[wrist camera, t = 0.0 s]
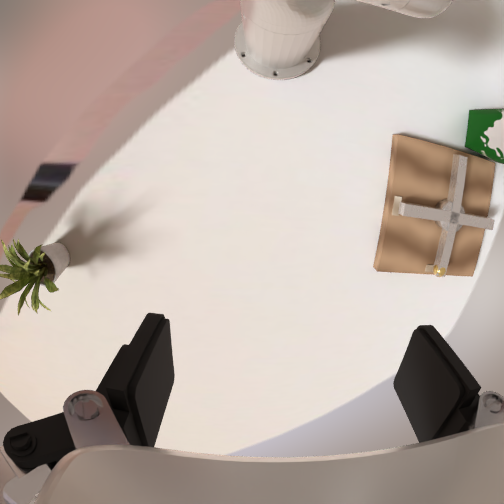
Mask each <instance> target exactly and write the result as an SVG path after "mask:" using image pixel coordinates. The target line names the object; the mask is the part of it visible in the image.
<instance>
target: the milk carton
mask: <svg viewBox="0 0 504 504" xmlns="http://www.w3.org/2000/svg"><path fill="white" fill-rule="evenodd" d="M465 147H467V148H469V149H471V150H473V151H476V152H478V153H480V154H482V155H484V156H486V157H488V158H490V159H492V160H494V161H496V162H498V163H502V164H504V109H481V110H469V119H468V128H467V136H466V143H465Z"/></svg>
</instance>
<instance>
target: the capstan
mask: <svg viewBox="0 0 504 504" xmlns="http://www.w3.org/2000/svg"><path fill="white" fill-rule="evenodd" d="M467 158H468V157H464V156H461V155H456V154H453V162H452V171H451V179H450V186H449V193H448V199H443V200H441V201H439V202H438V203H437V205H436V207H431V206H425V205H419V204H412V203H406V202H400V205H399V211H398V213H399V214H401V215H402V216H408V217H415V218H422V219H429V220H434V221H435V223H436V224H437V226H439V227H440V228H442V232H441V236H440V241H439V245H438V250H437V254H436V258H435V262H434V266H433V270H432V272H433V273H434V274H435V275H436V276H437V277H442V276H445V274H446V271H447V267H448V263H449V259H450V255H451V251H452V247H453V243H454V238H455V234H456V232H457V231H458V230H459V229H460V228H461V227H462V226H463V225H467V226H473V227H478V228H484V229H490V230H493V225H494V220H493V219H491V218H488V217H484V216H479V215H474V214H469V213H465V211H464V208H463V206H462V205H461V203H462V197H463V190H464V183H465V176H466V167H467Z"/></svg>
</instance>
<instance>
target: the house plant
mask: <svg viewBox="0 0 504 504" xmlns="http://www.w3.org/2000/svg"><path fill="white" fill-rule="evenodd" d="M0 238H1V237H0ZM1 241H2V240H1ZM13 242H14V246H15V248H16V250H17V251H18V253H19V254H20V255H21V256H22V257H23V258H24V259H25V260H26V261H27V262H26V263H25V262H24V261H22V260H21V259H20V258H19V257H18V256H17V254H16V252H15V250H14V248H13V246H12V245H11V249H10V247H9V251H8V250H7V248H6V246H5V244H4V242H3V241H2V244H3V248H4V252H5V255H6V257H7V259H8V260H9V262H10V263H11V265H12V266H13V267H12V266H8V265H0V271H3V272H6V273H10V274H0V277H4V278H8V279H11V280H12V279H13V281H14V280H18V281H14V283H13V284H11V285H9V286H7V287H5V289H4V290H3V291H2V293H1V294H0V299H3V298H6V297H8V296H10V295H12V294H14V293H16V292H18V291H20V290H21V289H22V288H23V287H24V286H26V285H27V284H28V285H27V287H26V288H25V290H24V291H23V293H22V295H21V297H20V300H19V303H18V315H19V313H20V309H21V307H22V306H23V303H24V300H25V302H26V296H27V294H28V293H29V292H30V290H31V288H32V287H33V285H34V284H35V286H34V289H33V292H32V296H31V301H32V308H33V306H34V308H33V310H34V309H35V311H36V313H37V309H38V308H39V303H40V304H41V305H42V306H43V307H44V308H46V309H47V310H50V309H48V308H47V307H46V306H45V305H43V304H42V302H41V301H40V300H39V297H38V292H39V286H40V285H42V286H45V287H46V288H47V289H48V291H49V292H55V291H57V290H58V288H57V287H56V286H55V284H54V282H55V281H56V280H57V278H58V277H59V276H60V275H61V273H62V272H63V271H64V270H65V268H66V267H67V266H68V265H69V262H70V256H69V252H68V250H67V249H66V247H65V246H64V245H63V244H61V243H53V244H49V245H46V246H42V245H40V246H38V247H36V248H35V249H33V250H32V251H31V252H30V253H29V255H28V254H27V253H26V251H25V250H24V248H23V247H22V245H21V244H20V243H19V240H18V242H17V245H16V243H15V241H14V239H13ZM8 246H9V245H8ZM41 246H42V247H41ZM9 252H10V253H9ZM10 259H11V260H12V261H13V262H14V263H15V264H14V263H13V262H12V261H11V260H10ZM26 304H27V302H26ZM27 306H28V304H27ZM28 307H29V306H28ZM50 311H51V310H50Z"/></svg>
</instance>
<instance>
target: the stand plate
mask: <svg viewBox="0 0 504 504" xmlns="http://www.w3.org/2000/svg"><path fill="white" fill-rule="evenodd" d="M453 154H456V155H461V156H464V157H468V158H467V167H466V176H465V183H464V190H463V197H462V203H461V205H462V206H463V208H464V211H465V213H469V214H474V215H479V216H484V217H487V216H488V211H489V205H490V199H491V193H492V186H493V178H494V170H495V163H494V162H491V161H488V160H486V159H483V158H480V157H477V156H474V155H471V154H468V153H465V152H461V151H458V150H455V149H452V148H448V147H445V146H441V145H438V144H434V143H430V142H427V141H423V140H419V139H415V138H411V137H407V136H403V135H398V134H397V135H393V137H392V148H391V158H390V167H389V176H388V184H387V191H386V198H385V205H384V212H383V218H382V224H381V229H380V235H379V241H378V246H377V251H376V256H375V261H374V266H373V267H374V268H375V269H376V270H377V271H380V272H398V273H416V274H434V273H433V272H432V270H433V266H434V262H435V258H436V254H437V250H438V245H439V241H440V236H441V232H442V228H440V227H439V226H437V224H436V223H435V221H434V220H429V219H422V218H415V217H408V216H402V215H401V214H399V213H398V211H399V205H400V202H406V203H412V204H419V205H425V206H431V207H436V205H437V203H438V202H439V201H441V200H443V199H448V193H449V186H450V179H451V171H452V162H453ZM484 231H485V229H484V228H478V227H473V226H467V225H463V226H462V227H461V228H460V229H459V230H458V231H457V232H456V234H455V238H454V243H453V247H452V251H451V255H450V259H449V263H448V267H447V271H446V274H445V275H454V276H473V274H474V270H475V267H476V263H477V259H478V256H479V252H480V248H481V244H482V239H483V235H484ZM434 275H435V274H434Z"/></svg>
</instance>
